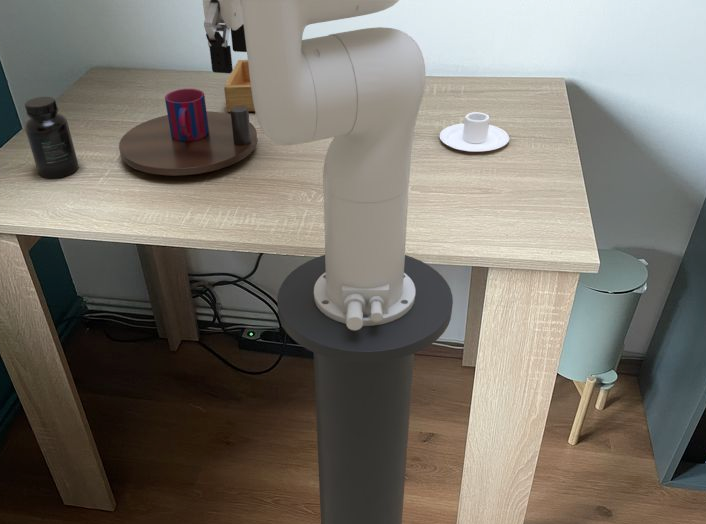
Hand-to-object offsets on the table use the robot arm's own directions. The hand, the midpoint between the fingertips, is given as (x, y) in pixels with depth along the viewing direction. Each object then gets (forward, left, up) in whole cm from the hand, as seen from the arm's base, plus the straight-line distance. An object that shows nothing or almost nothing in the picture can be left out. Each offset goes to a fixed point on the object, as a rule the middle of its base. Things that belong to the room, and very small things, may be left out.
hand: (232, 61), depth 116 cm
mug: (+2, +9, -14) cm, 17 cm away
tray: (+26, -11, -16) cm, 33 cm away
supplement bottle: (-4, +31, -16) cm, 36 cm away
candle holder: (+5, -41, -16) cm, 44 cm away
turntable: (+2, +9, -15) cm, 18 cm away
